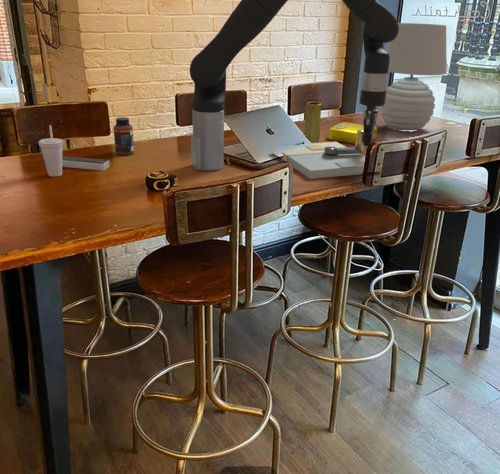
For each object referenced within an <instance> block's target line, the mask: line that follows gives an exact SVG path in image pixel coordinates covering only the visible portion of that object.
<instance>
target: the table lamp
mask: <svg viewBox="0 0 500 474" xmlns="http://www.w3.org/2000/svg"><path fill="white" fill-rule="evenodd" d="M398 26H399V31H398V35H397V37H396V38H395V39H394V40H393V41H391V42H388V43H386V47H385V49H384V50H385V51H386V52H387V53H388V54H389V56H390V61H389V69H388V73H393V74H402V75H410V76H406V77H403V78H402V79H398V80H397V81H395V82H393V83H392V84H391V85H389V86H387V92H386V99H385V104H384V105H383V106H379V111H380V116H381V119H382V120H383V123H384V124H385V125H386V126H387V127H388V128H389V129H390V128H391V129H390V130H392V129H395V130H418V129H419V130H421V129H423V128H424V127H425V126H426V124H428V123H429V122H430V121H431V117H432V116H433V115H434V112H435V111H434V109H435V107H436V105H435V101H436V98H435V96H434V95H433V94H434V92H433V90H432V89H430V86H429V85H428V84H427V83H424V81H422V80H420V79H419V78H418V77H414V75H415V76H442V75H445V74H447V25H445V24H436V23H435V24H434V23H432V24H431V23H415V22H398ZM395 130H394V131H395ZM419 130H418V131H419Z"/></svg>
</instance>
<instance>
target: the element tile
mask: <svg viewBox="0 0 500 474" xmlns="http://www.w3.org/2000/svg"><path fill="white" fill-rule="evenodd" d="M357 130H364V126H363V124H359V123H352V122H344V121H343V122H339V123H337V124H335V125H334V126H331V127H330V128H329V130H328V140H331V141H335V142H343V143H349V144H354V143H355V144H356V136H357ZM373 131H374V132H373V133H372V141H374V140H375V139H376V138H377V135H378V127H377V126H375V129H374V130H373ZM374 138H375V139H374ZM373 139H374V140H373Z"/></svg>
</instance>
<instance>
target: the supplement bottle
mask: <svg viewBox="0 0 500 474" xmlns="http://www.w3.org/2000/svg"><path fill="white" fill-rule="evenodd" d="M115 123H116V124H115V125H113V138H114V140H113V141H114V149H115V154H117V155H119V156H129V155H133V154H134V153H135V146H134V144H135V143H134V130H133V126H132V125H131V124H130V118H128V117H123V116H122V117H121V116H120V117H116V118H115Z"/></svg>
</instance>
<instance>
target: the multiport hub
mask: <svg viewBox="0 0 500 474" xmlns="http://www.w3.org/2000/svg"><path fill="white" fill-rule="evenodd" d="M63 167H64V168H72V169H73V168H74V169H83V170H85V169H86V170H93V171H105V170H107V169H108V168H110V159H109V160H107V159H102V158H101V159H98V158H90V157H89V158H88V157H77V156H76V157H75V156H67V155H65V156H62V168H63Z"/></svg>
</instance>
